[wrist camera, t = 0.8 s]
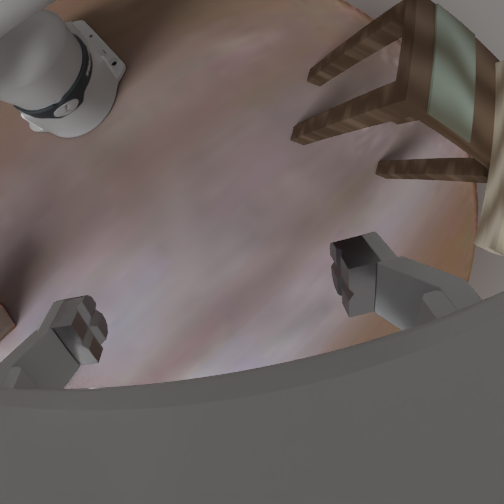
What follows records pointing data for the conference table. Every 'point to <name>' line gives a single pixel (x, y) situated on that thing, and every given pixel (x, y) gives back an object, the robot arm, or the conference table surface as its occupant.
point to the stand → (418, 90)
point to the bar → (495, 180)
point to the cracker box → (5, 323)
